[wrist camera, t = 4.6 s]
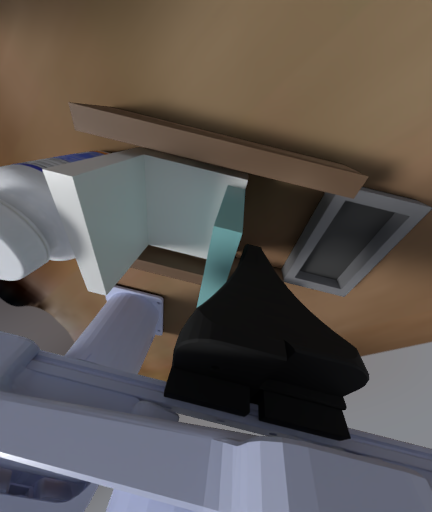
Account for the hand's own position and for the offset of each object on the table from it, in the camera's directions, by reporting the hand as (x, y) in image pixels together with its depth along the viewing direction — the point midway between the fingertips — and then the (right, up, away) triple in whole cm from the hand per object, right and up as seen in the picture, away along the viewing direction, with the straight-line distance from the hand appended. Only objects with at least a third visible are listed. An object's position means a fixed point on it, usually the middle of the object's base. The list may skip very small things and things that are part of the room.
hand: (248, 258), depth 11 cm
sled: (-4, +4, +4) cm, 7 cm away
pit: (+8, +1, +4) cm, 9 cm away
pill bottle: (-11, +6, +4) cm, 13 cm away
